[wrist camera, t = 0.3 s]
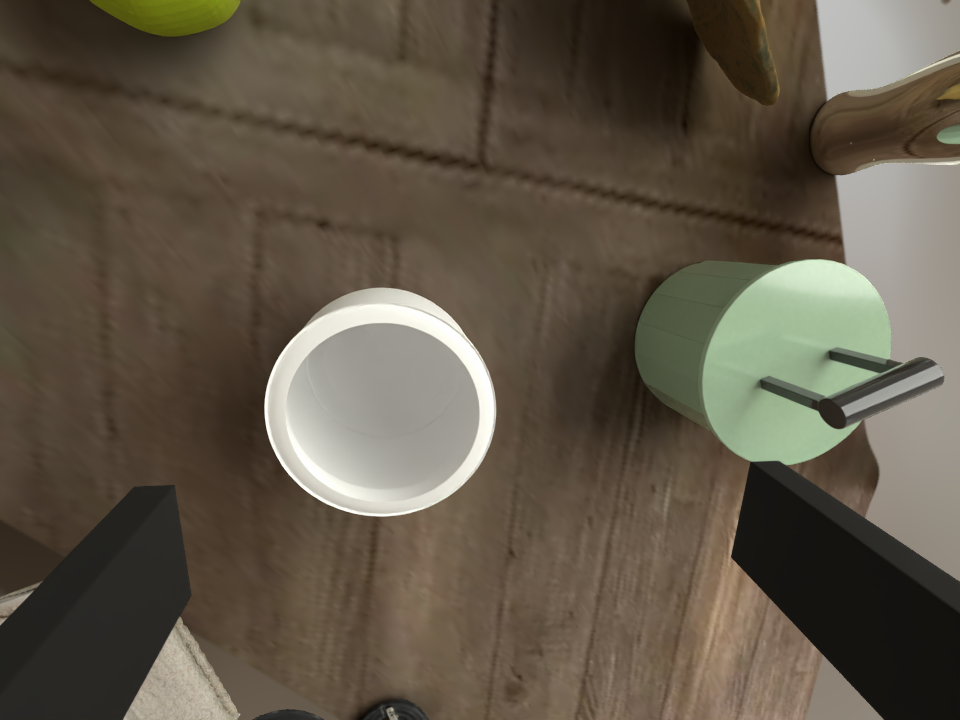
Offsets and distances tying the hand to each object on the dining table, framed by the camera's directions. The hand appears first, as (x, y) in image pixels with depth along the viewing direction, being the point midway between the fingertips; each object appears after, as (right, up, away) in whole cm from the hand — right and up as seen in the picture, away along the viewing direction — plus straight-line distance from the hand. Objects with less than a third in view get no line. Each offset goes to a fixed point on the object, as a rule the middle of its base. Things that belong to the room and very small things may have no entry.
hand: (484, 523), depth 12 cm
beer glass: (+28, +22, +28) cm, 46 cm away
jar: (-7, +5, +26) cm, 27 cm away
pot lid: (+20, +3, +21) cm, 29 cm away
